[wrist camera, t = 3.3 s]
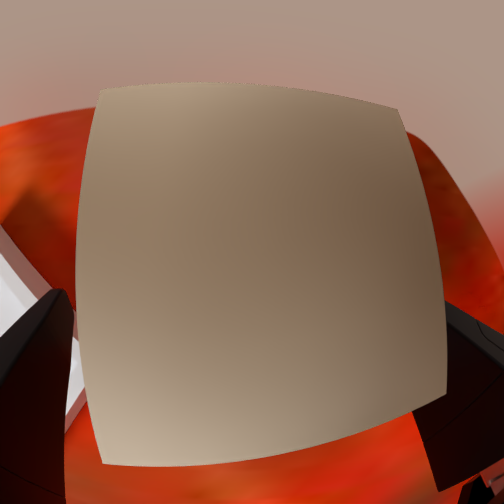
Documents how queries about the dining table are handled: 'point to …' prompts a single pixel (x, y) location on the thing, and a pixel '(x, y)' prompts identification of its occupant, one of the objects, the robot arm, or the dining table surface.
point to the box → (21, 299)
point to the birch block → (251, 273)
